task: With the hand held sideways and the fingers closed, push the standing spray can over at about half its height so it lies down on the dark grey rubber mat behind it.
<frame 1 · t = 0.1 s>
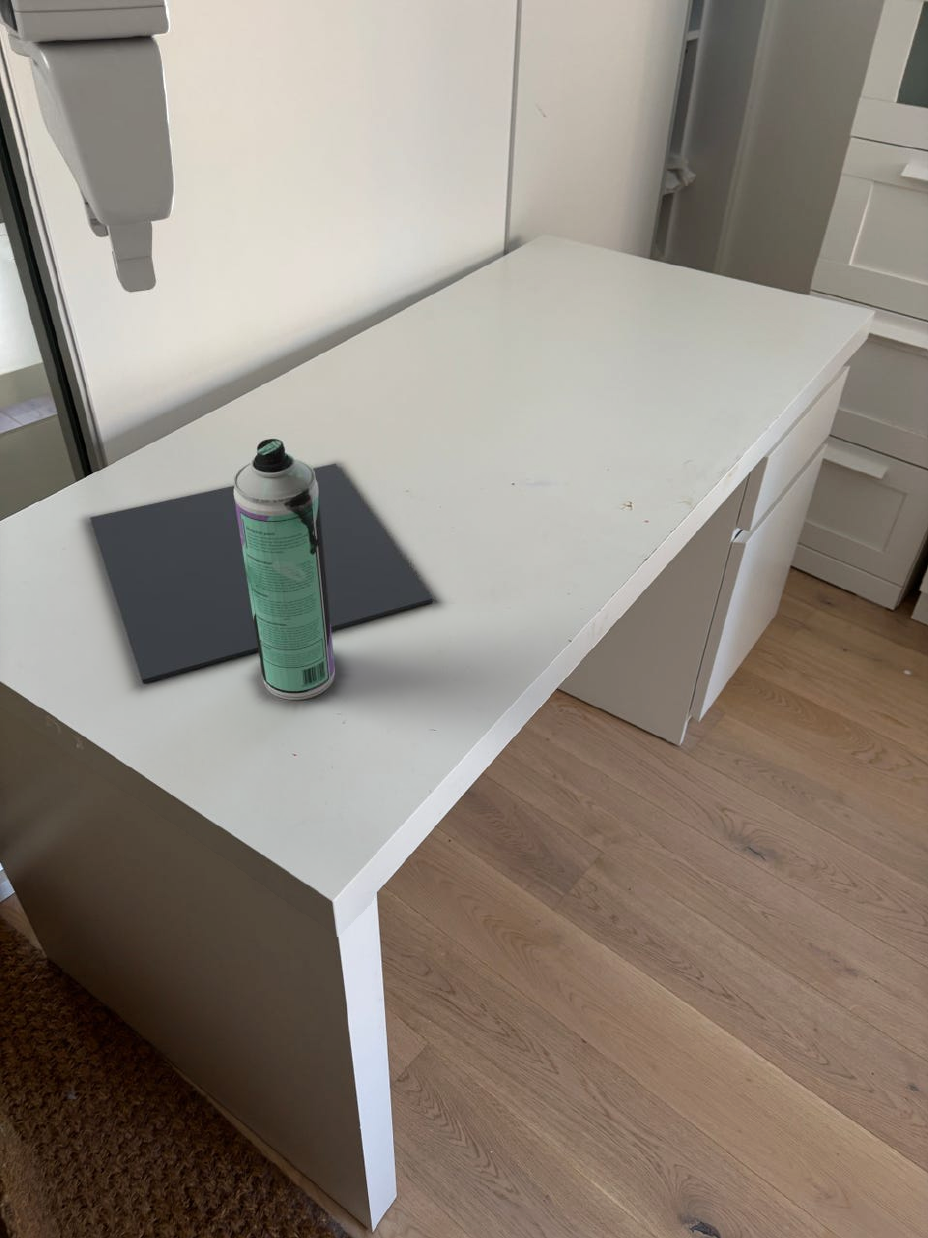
hand: (121, 258, 55), 31 cm above the table, tool pointing down, fingers open, 8 cm apart
spray can: (299, 677, 74), on the table
mat: (253, 559, 85), on the table
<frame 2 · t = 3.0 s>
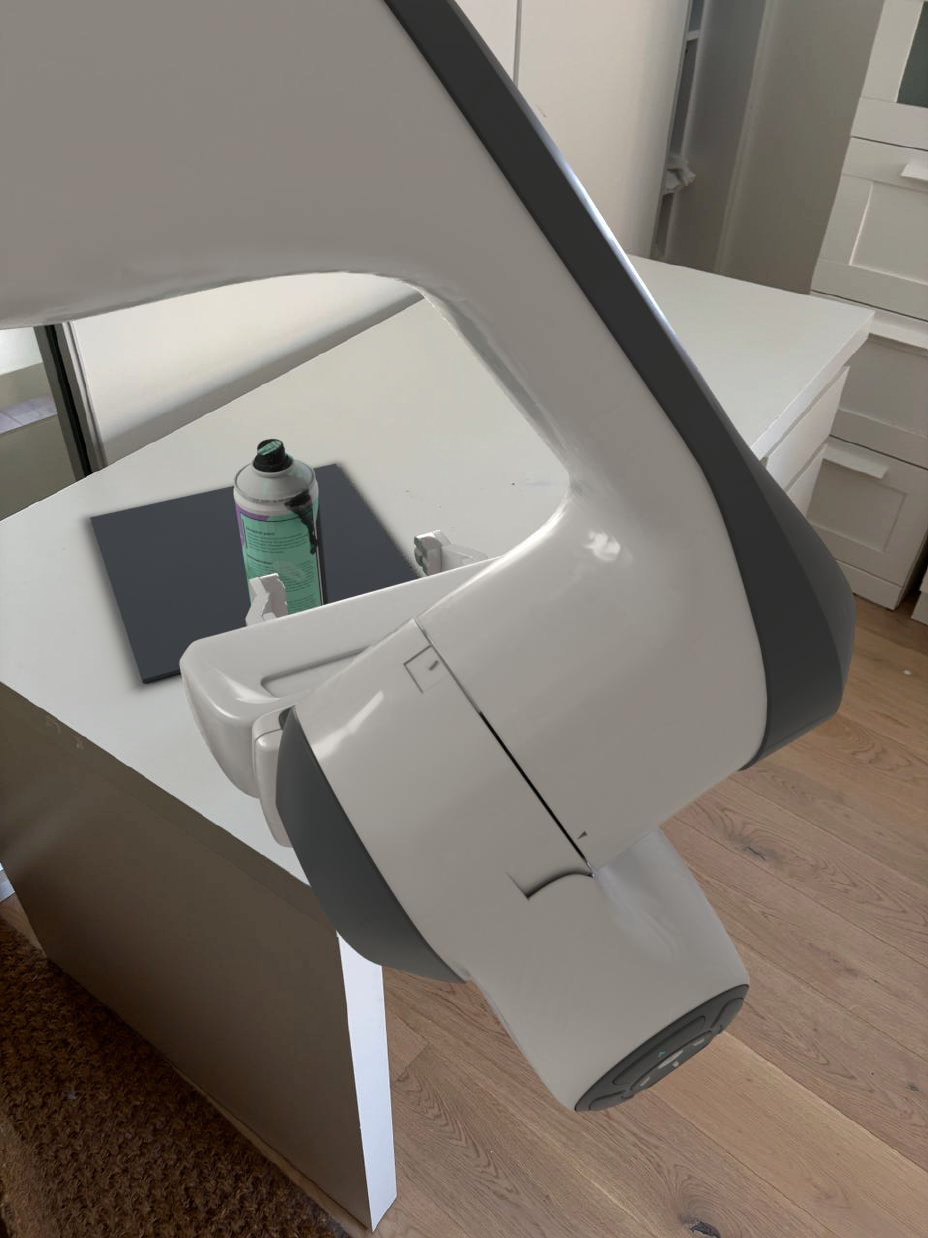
hand: (347, 563, 52), 20 cm above the table, tool horizontal, fingers open, 8 cm apart
nothing on the table moved.
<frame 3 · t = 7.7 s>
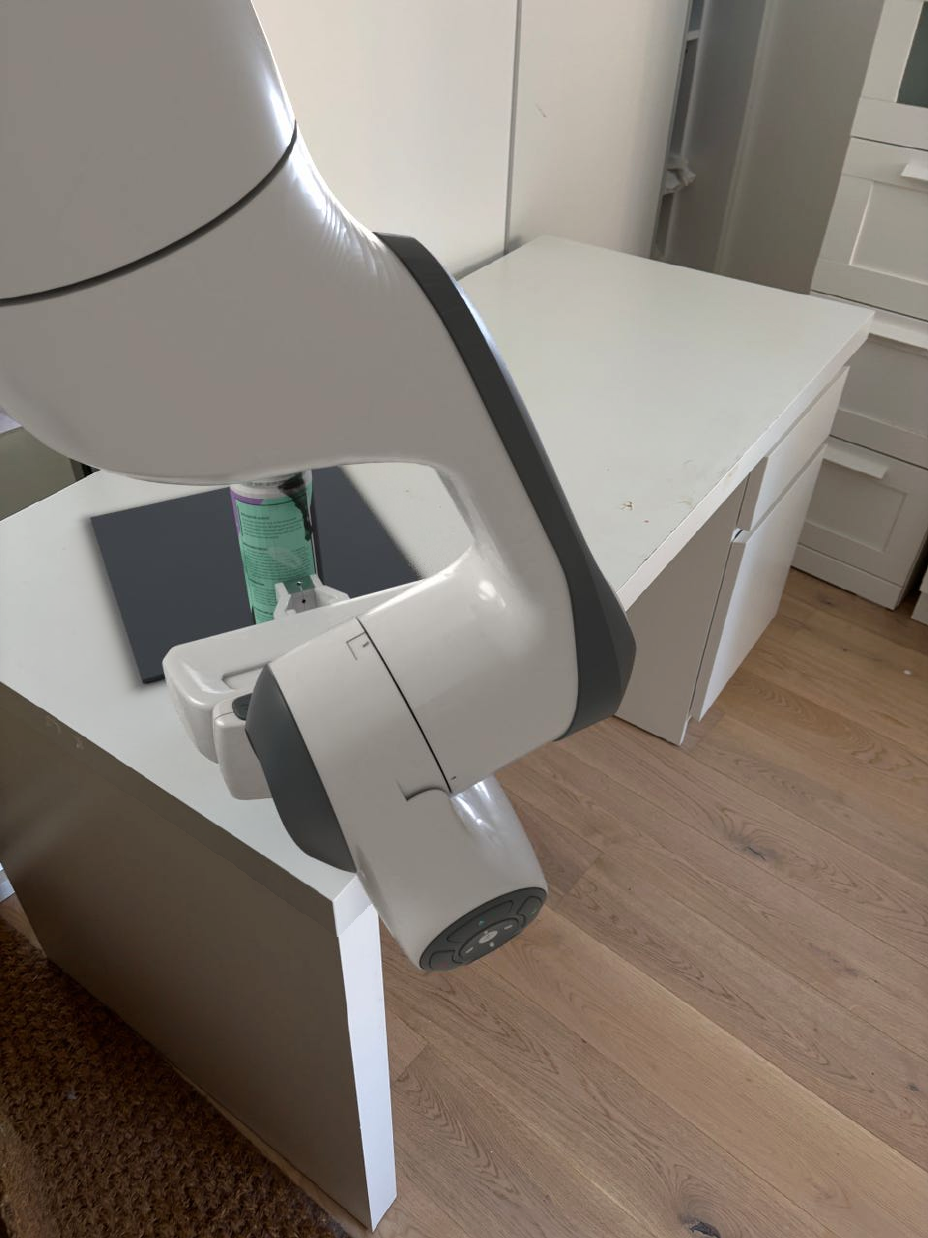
hand: (295, 586, 66), 10 cm above the table, tool horizontal, fingers closed, pressing on spray can
spray can: (299, 675, 74), on the table, touching gripper
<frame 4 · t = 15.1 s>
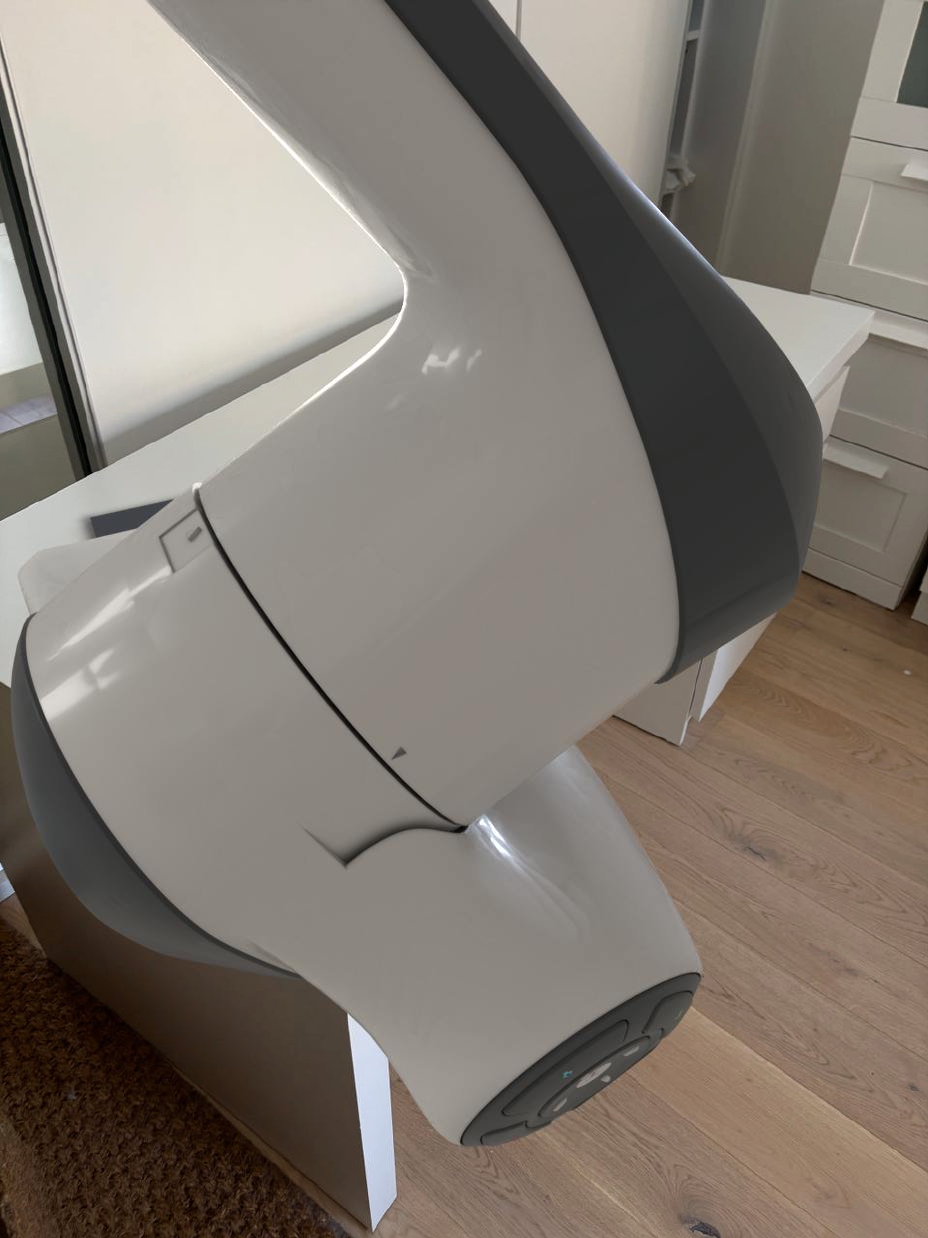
hand: (249, 475, 43), 28 cm above the table, tool horizontal, fingers closed
spray can: (286, 622, 74), point 3 cm above the table, touching mat
at the end: spray can tilted 90°; spray can inside the target area (10.8 cm from its centre), point 3.1 cm above the table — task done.
